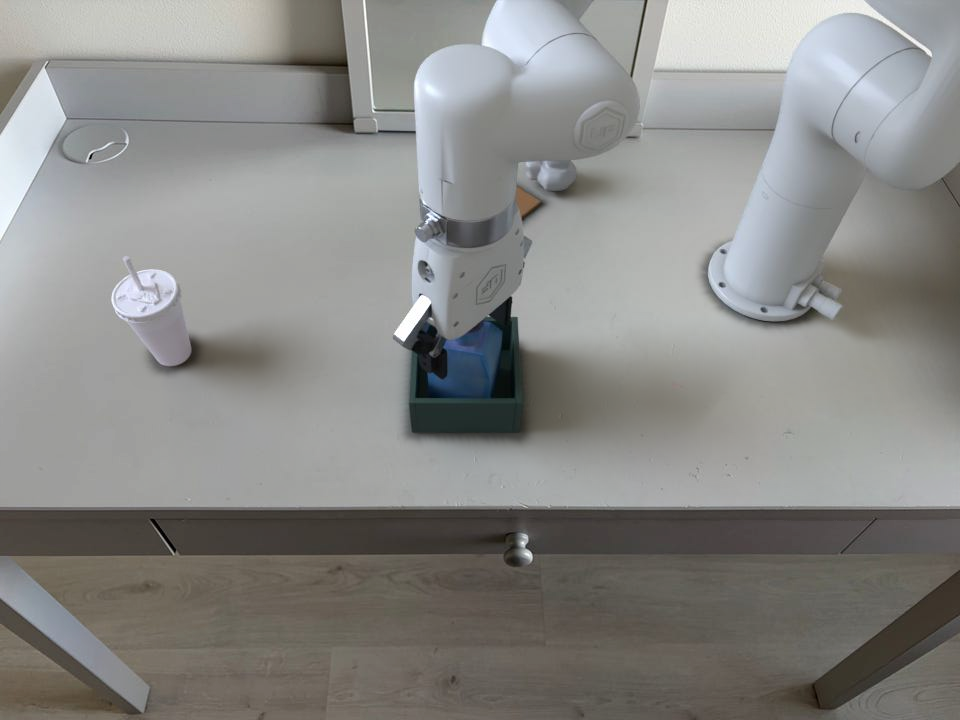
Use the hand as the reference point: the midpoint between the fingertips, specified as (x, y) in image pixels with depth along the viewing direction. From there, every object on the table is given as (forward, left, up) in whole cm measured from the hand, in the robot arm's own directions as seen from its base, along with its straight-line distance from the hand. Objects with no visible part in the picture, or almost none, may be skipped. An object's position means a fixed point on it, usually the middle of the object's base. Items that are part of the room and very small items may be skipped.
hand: (465, 342), depth 75 cm
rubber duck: (+14, -31, -8) cm, 35 cm away
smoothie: (+26, +18, -8) cm, 33 cm away
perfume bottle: (0, 0, -8) cm, 8 cm away
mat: (+16, -24, -8) cm, 30 cm away
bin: (0, 0, -8) cm, 8 cm away
